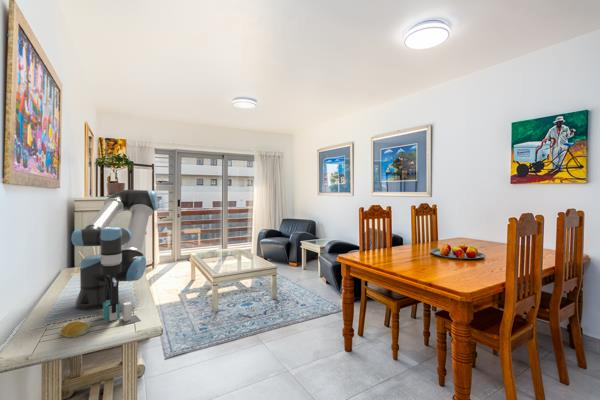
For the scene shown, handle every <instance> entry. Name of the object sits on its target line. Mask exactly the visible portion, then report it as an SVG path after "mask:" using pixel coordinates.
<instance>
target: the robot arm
mask: <svg viewBox="0 0 600 400" xmlns="http://www.w3.org/2000/svg"><path fill="white" fill-rule="evenodd" d="M158 208H159V201H158V195H157V192H156V191H154V190H152V189H151V190H150V189H147V190H145V189H141V190H140V189H125V190H124V189H123V190H120V191H118V192H115V193H113V194H111V195H110V196H109V197H107V198H106V200H105V201H104V202H103V206H102V207H101V209H100V210H99V211H98V212H97V214H95V216H94V217H93V218H92V219H91V220H90V222H88V223H87V225H86V226H85V227H84V228H83V229H82V228H80V229H75V230H74V231H72V233H71V240H70V241H71V243H72V245H73V246H74V247H84V248H85V247H100V254H94V255H91V256H86V257H84V258H82V259H81V260H80V267H79V270H80V271H79V273H80V276H79V277H80V278H79V279H80V282H79V285H80V287H79V288H80V290H79V293H78V296H77V298H76V301H75V309H77V310H80V311H81V310H82V311H89V310H90V311H91V310H96V309H103V302H107V301H110V305H108V306H109V321H108V322H112V321H116V320H118V319H117V304H119V303H120V302H119V284H120V283H119V282H133V281H134V282H135V281H136V282H137V281H139V280H140V279H142V277H143V275H144V274H145V271H146V267H147V259H146V257H145V256H144V253H143V252H142V249H143V244H144V240H145V235H146V232H147V227H148V223H149V218H150V216H152V215H153V214H154V212H156V211H158ZM123 211H129V212H130V213H131V215H130V218H129V219H130V220H129V222H128V227H126V228H125V227H122V228H121V227H119V226H110V225H111V223H112V222H113V221H114V219H115V218H116V217H117V215H118V214H120V213H122V212H123Z"/></svg>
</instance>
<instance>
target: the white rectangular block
mask: <svg viewBox="0 0 600 400" xmlns="http://www.w3.org/2000/svg"><path fill="white" fill-rule="evenodd" d="M132 304H133V303H132V302H130V301H128V302H124V303H122V318H123V320H124V321H128V320H131V316H132V314H133V312H132V310H133V309H132V306H133V305H132Z"/></svg>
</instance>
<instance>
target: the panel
mask: <svg viewBox="0 0 600 400" xmlns="http://www.w3.org/2000/svg"><path fill="white" fill-rule="evenodd" d="M118 320H119V322H120V323H121V324H122V325H123V326H125V325H129V324H134V323H137V322H141V319H140V318H139V317H138V316H137V315H131V320H128V321H124V320H123V317H122V318H118Z"/></svg>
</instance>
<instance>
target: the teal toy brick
mask: <svg viewBox="0 0 600 400" xmlns="http://www.w3.org/2000/svg"><path fill="white" fill-rule="evenodd" d="M108 305H110V301H107V302H103V307H102V319H103V320H104V322H110V321H109V306H108ZM120 307H121V305H120V302H119V304H117V319H116V320H119V319H121V318H120V317H121V315H120V313H121V308H120Z"/></svg>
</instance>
